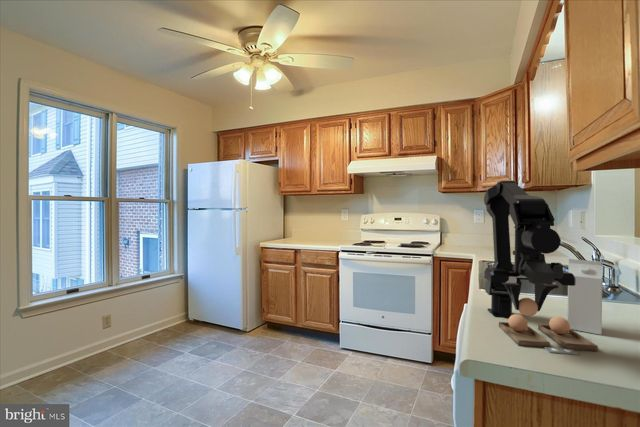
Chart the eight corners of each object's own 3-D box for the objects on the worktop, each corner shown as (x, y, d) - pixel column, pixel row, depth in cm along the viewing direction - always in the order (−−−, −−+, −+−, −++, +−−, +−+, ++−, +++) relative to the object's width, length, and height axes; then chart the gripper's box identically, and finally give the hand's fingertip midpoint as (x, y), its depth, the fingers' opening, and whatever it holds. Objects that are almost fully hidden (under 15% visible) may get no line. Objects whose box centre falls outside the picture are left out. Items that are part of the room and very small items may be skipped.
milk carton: (568, 322, 94) (569, 257, 94) (600, 327, 90) (601, 260, 89) (567, 329, 89) (568, 260, 88) (601, 335, 84) (602, 263, 84)
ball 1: (505, 327, 89) (505, 311, 88) (523, 328, 88) (523, 312, 88) (512, 333, 84) (512, 316, 84) (530, 334, 83) (530, 317, 83)
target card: (544, 348, 76) (544, 346, 76) (572, 350, 75) (572, 348, 75) (549, 352, 74) (549, 351, 74) (578, 354, 73) (578, 353, 73)
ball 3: (545, 329, 87) (545, 313, 87) (563, 331, 86) (564, 314, 86) (554, 336, 82) (554, 319, 82) (573, 337, 82) (573, 320, 82)
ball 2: (514, 312, 83) (514, 295, 83) (532, 313, 82) (533, 296, 82) (521, 317, 79) (521, 300, 79) (541, 319, 78) (541, 301, 78)
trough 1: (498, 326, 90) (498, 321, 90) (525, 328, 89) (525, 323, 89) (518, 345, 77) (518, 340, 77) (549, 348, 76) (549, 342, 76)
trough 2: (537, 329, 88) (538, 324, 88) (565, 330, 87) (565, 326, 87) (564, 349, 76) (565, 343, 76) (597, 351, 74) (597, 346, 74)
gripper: (499, 251, 74) (498, 318, 74) (591, 253, 71) (590, 324, 71) (484, 246, 85) (483, 304, 85) (562, 247, 82) (561, 308, 82)
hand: (527, 310), depth 81 cm, fingers closed on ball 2, 4 cm apart
